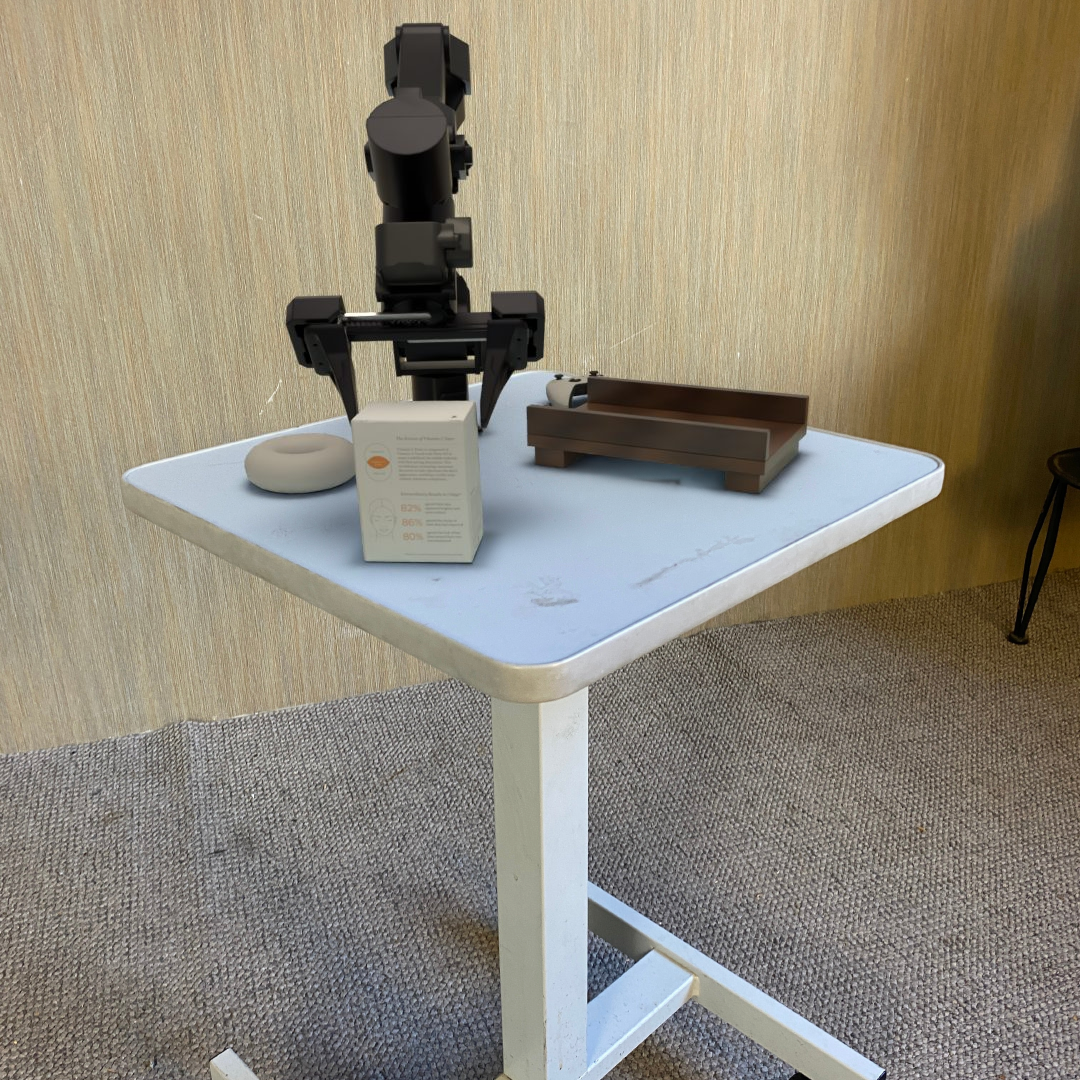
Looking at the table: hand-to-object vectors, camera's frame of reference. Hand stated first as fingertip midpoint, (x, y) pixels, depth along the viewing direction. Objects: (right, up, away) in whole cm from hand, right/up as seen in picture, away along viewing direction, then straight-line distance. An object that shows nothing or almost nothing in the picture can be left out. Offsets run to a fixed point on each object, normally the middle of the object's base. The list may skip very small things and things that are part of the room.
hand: (418, 427), depth 75 cm
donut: (-12, -3, +18) cm, 22 cm away
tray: (+21, -1, +22) cm, 30 cm away
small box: (0, -9, +2) cm, 9 cm away
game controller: (+14, +7, +42) cm, 45 cm away
